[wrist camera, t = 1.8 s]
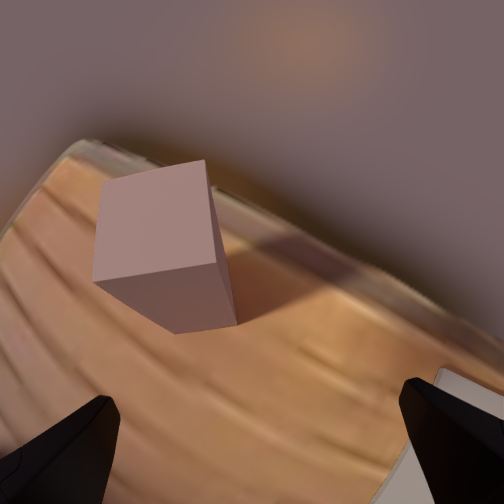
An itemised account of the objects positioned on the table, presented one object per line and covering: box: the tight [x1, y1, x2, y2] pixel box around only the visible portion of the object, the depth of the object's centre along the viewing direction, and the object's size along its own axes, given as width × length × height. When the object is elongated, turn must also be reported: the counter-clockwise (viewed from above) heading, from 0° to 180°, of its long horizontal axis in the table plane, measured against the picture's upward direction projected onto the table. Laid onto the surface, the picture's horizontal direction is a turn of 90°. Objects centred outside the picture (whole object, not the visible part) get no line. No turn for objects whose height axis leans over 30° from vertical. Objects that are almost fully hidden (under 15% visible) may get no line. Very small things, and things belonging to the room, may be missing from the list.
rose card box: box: [92, 160, 238, 334], centre depth 17 cm, size 5×5×12 cm
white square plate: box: [369, 368, 504, 504], centre depth 13 cm, size 18×18×1 cm
